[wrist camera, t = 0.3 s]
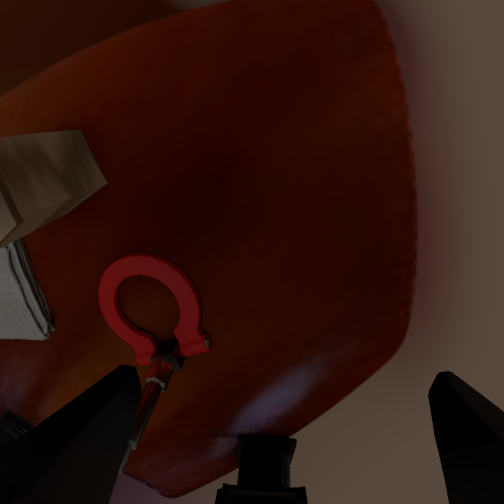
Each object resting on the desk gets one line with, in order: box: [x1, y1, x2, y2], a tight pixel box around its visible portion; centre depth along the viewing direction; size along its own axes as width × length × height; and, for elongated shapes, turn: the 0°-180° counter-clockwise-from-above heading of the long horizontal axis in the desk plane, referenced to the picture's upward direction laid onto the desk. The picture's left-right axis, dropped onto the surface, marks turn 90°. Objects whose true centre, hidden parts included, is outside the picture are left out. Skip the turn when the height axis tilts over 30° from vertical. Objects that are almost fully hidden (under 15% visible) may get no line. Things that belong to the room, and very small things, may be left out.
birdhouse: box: [0, 130, 107, 249], centre depth 17 cm, size 5×9×11 cm, turn 117°
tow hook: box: [98, 252, 212, 473], centre depth 19 cm, size 9×14×10 cm
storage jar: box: [0, 411, 33, 448], centre depth 30 cm, size 10×10×18 cm
